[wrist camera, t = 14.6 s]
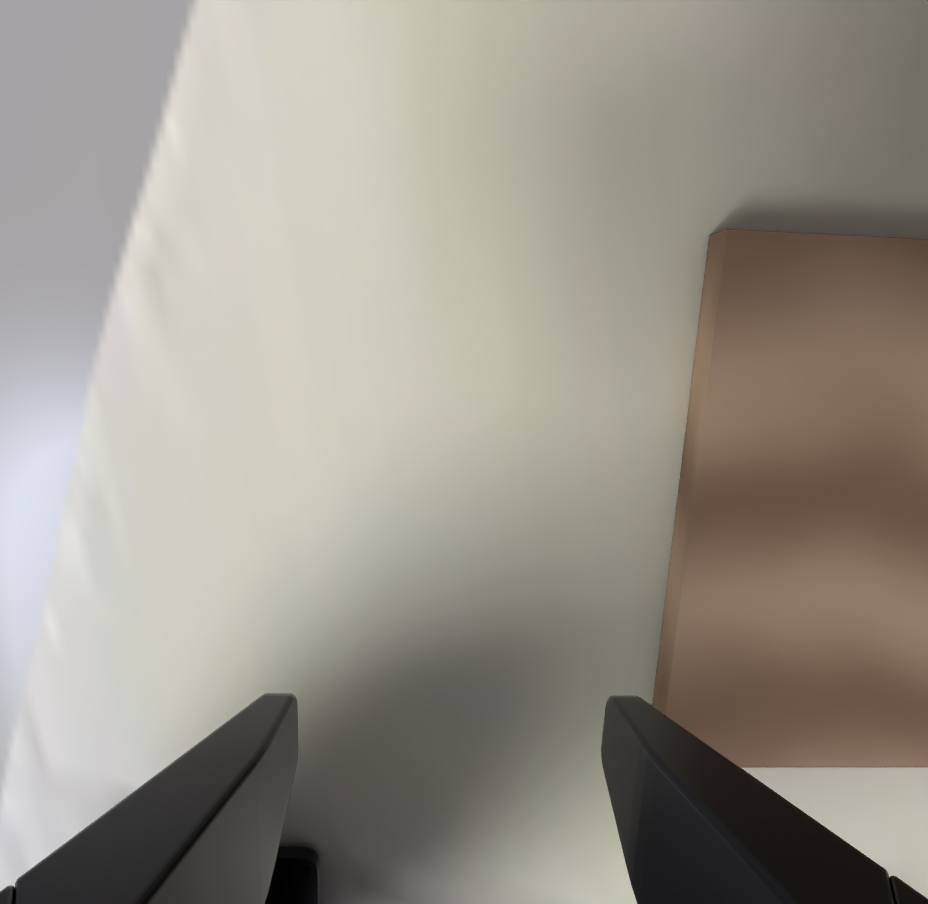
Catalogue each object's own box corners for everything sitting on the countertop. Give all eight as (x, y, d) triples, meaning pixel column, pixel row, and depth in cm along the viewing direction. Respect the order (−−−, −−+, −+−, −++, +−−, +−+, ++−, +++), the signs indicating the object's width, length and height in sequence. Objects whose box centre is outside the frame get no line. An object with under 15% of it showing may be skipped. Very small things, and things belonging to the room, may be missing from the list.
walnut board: (1046, 745, 20) (1078, 767, 19) (647, 744, 19) (658, 767, 18) (1185, 259, 17) (1232, 254, 16) (709, 235, 16) (727, 228, 15)
